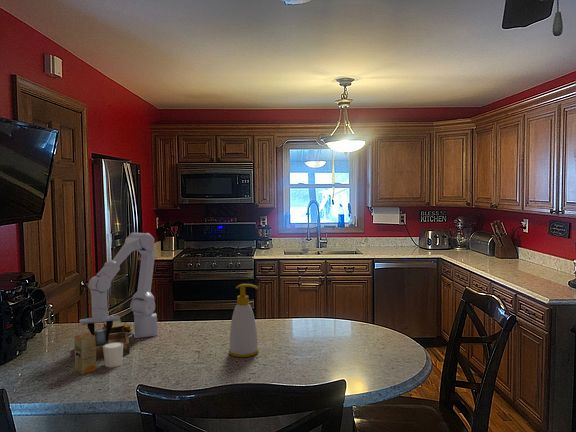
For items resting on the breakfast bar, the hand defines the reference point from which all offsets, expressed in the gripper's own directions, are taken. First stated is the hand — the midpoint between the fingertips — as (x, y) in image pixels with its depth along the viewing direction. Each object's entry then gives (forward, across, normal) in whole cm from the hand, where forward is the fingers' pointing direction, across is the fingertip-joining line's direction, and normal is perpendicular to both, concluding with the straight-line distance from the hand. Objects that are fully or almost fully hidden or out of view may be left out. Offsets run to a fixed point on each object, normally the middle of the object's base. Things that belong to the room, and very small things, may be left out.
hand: (100, 341), depth 179 cm
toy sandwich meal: (+3, +6, +18) cm, 19 cm away
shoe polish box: (+3, -5, -22) cm, 23 cm away
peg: (+2, 0, 0) cm, 2 cm away
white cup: (+3, +4, -20) cm, 21 cm away
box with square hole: (+3, +1, -3) cm, 4 cm away
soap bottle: (+3, +50, -28) cm, 57 cm away
